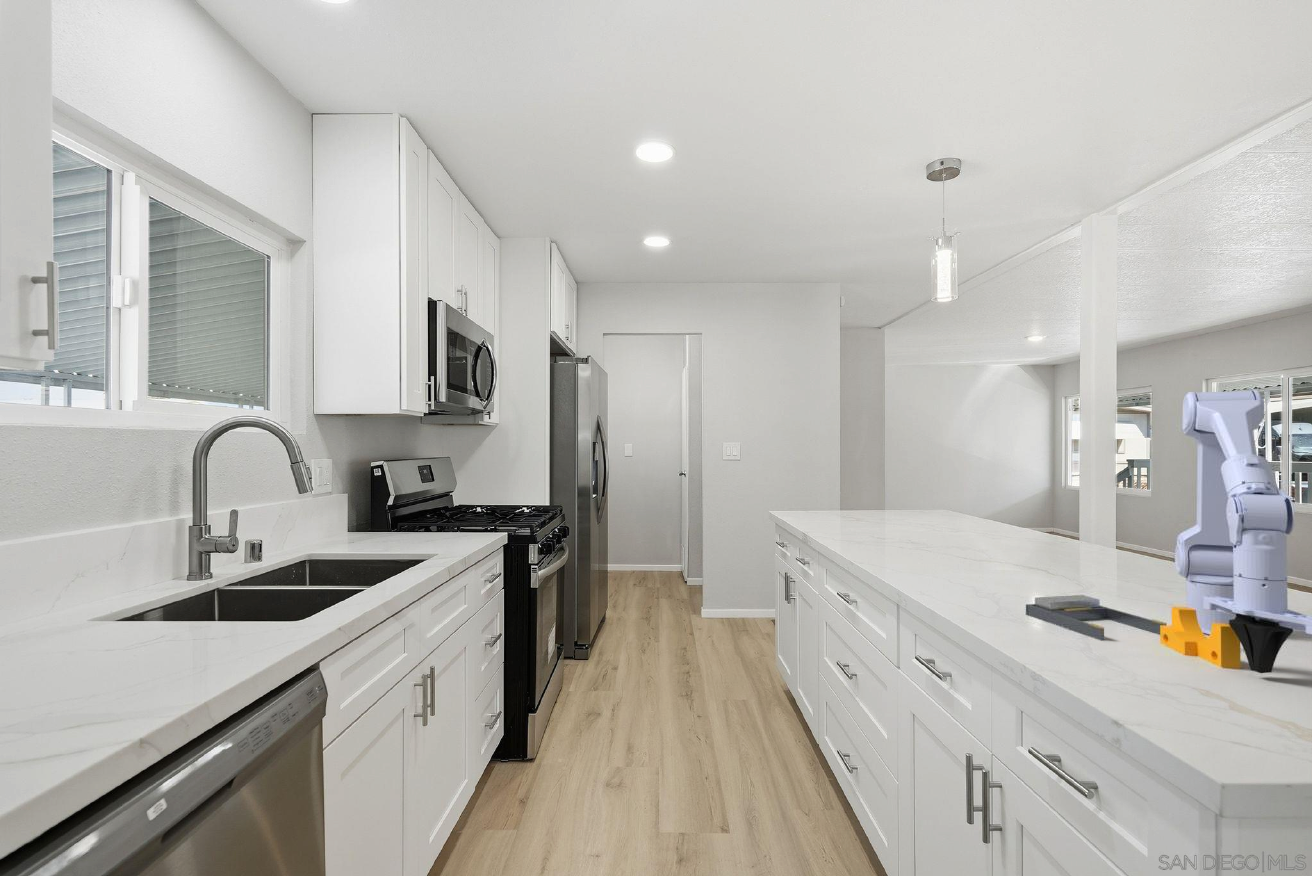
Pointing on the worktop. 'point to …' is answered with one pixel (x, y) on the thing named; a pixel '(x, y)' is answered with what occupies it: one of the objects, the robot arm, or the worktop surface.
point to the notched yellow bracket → (1201, 639)
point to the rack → (1084, 614)
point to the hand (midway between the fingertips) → (1260, 671)
